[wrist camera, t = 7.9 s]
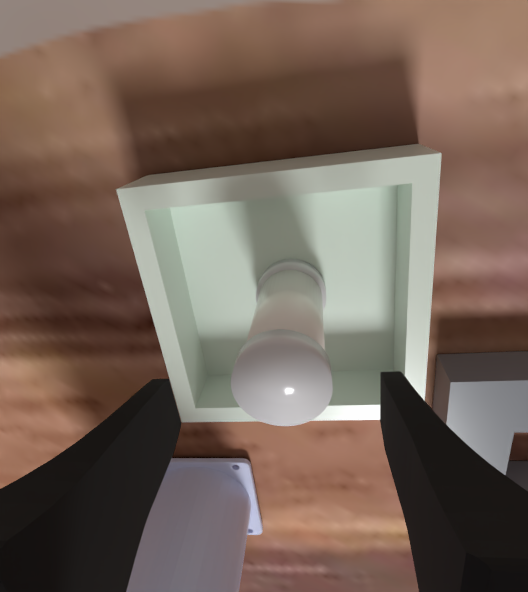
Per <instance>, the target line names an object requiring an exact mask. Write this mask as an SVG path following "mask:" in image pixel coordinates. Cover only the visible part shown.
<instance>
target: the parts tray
mask: <svg viewBox="0 0 528 592" xmlns="http://www.w3.org/2000/svg"><path fill="white" fill-rule="evenodd" d="M441 154H442V153H440V152H438V151H435V150H433V149H431V148H428V147H426V146H423V145H421V144H412V145H404V146H395V147H386V148H378V149H369V150H360V151H352V152H343V153H334V154H326V155H317V156H309V157H300V158H291V159H283V160H274V161H265V162H257V163H248V164H239V165H231V166H222V167H214V168H205V169H196V170H188V171H179V172H170V173H162V174H153V175H147V176H144V177H142V178H140V179H138V180H136V181H133V182H131V183H129V184H127V185H125V186H122V187H120V188H118V189H116V190H117V194H118V197H119V201H120V204H121V208H122V212H123V215H124V219H125V222H126V226H127V229H128V233H129V236H130V240H131V243H132V247H133V251H134V254H135V258H136V261H137V265H138V268H139V272H140V275H141V279H142V283H143V286H144V290H145V293H146V297H147V300H148V304H149V307H150V311H151V314H152V318H153V322H154V325H155V329H156V332H157V336H158V339H159V343H160V346H161V350H162V354H163V357H164V361H165V364H166V368H167V371H168V375H169V378H170V382H171V386H172V389H173V393H174V396H175V400H176V403H177V407H178V410H179V414H180V417H181V421H182V422H242V421H259V420H257V419H255V418H253V417H252V416H250V415H249V414H247V413H246V412H245V411H244V410H243V409H242V408H241V407H240V406H239V405H238V403H237V402H236V400H235V398H234V396H233V393H232V390H231V375H232V372H233V369H234V365H235V362H236V358H237V355H238V353H239V351H240V349H241V348H242V346H243V345H244V344H245V343H246V342H247V338H248V334H249V331H250V327H251V323H252V320H253V316H254V312H255V309H256V305H257V303H256V290H257V287H258V283H259V280H260V277H261V275H262V274H263V272H264V271H265V270H266V268H268V267H269V266H270V265H271V264H273V263H275V262H277V261H280V260H283V259H300V260H303V261H306V262H308V263H310V264H311V265H313V266H314V267H315V268H316V269H317V270H318V271H319V272H320V273H321V275H322V277H323V279H324V281H325V286H326V305H325V308H324V310H323V321H324V341H325V352H326V353H327V355H328V357H329V360H330V363H331V371H332V385H333V391H332V397H331V400H330V402H329V404H328V406H327V407H326V409H325V410H324V411H323V412H322V413H321V414H320V415H319V416H317V417H316V418H314V419H313V420H311V421H315V420H380V372H393V371H400V372H402V373H403V374H404V376H405V377H406V378H407V380H408V381H409V382H410V384H411V385H412V386H413V387H414V389H415V390H416V391H417V392H418V394H419V395H420V396H421V397H422V398H423V400H424V401H425V389H426V375H427V360H428V345H429V331H430V316H431V301H432V286H433V272H434V257H435V242H436V228H437V213H438V198H439V184H440V169H441Z"/></svg>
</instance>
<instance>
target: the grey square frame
mask: <svg viewBox="0 0 528 592" xmlns="http://www.w3.org/2000/svg"><path fill="white" fill-rule="evenodd" d="M433 411H434V412H435V413H436V414H437V415H438V416H439V417H440V419H441V420H442V421H443V422H444V423H445V424H446V425H447V426H448V427H449V428H450V429H451V430H452V431H453V432H454V433H455V434H456V435H457V436H458V437H460V438H461V439H462V440H463V441H464V442H465V443H466V444H467V445H468V446H469V447H470V448H472V449H473V450H474V451H475V452H476V453H477V454H479V455H480V456H481V457H482V458H483V459H485V460H486V461H487V462H488V463H490V464H491V465H492V466H493V467H495V468H496V469H497V470H499V471H500V472H501V473H503V474H504V475H506V476H507V477H508V478H510V479H511V480H513V481H514V482H515V483H517V484H518V485H520V486H521V487H522V488H524V489H525V490H527V491H528V461H509V456H510V451H511V446H512V441H513V436H514V432H528V351H514V352H487V353H461V354H437V360H436V373H435V385H434V398H433Z"/></svg>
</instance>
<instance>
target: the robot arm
mask: <svg viewBox="0 0 528 592" xmlns="http://www.w3.org/2000/svg"><path fill="white" fill-rule="evenodd" d="M380 422H381V428H382V434H383V440H384V446H385V451H386V455H387V458H388V462H389V465H390V469H391V472H392V476H393V479H394V483H395V486H396V490H397V493H398V497H399V500H400V503H401V507H402V510H403V514H404V518H405V522H406V526H407V530H408V534H409V540H410V545H411V550H412V555H413V561H414V566H415V571H416V577H417V582H418V588H419V592H528V491H527V490H525V489H524V488H522V487H521V486H520V485H518V484H517V483H515V482H514V481H513V480H511V479H510V478H508V477H507V476H506V475H504V474H503V473H501V472H500V471H499V470H497V469H496V468H495V467H493V466H492V465H491V464H490V463H488V462H487V461H486V460H485V459H483V458H482V457H481V456H480V455H479V454H477V453H476V452H475V451H474V450H473V449H472V448H470V447H469V446H468V445H467V444H466V443H465V442H464V441H463V440H462V439H461V438H460V437H458V436H457V435H456V434H455V433H454V432H453V431H452V430H451V429H450V428H449V427H448V426H447V425H446V424H445V423H444V422H443V421H442V420H441V419H440V417H439V416H438V415H437V414H436V413H435V412H434V411H433V410H432V409H431V408H430V406H429V405H428V404H427V403H426V402H425V401H424V400H423V398H422V397H421V396H420V395H419V394H418V392H417V391H416V390H415V389H414V387H413V386H412V385H411V384H410V382H409V381H408V380H407V378H406V377H405V376H404V374H403V373H402V372H400V371H393V372H380ZM180 427H181V420H180V417H179V413H178V409H177V406H176V402H175V399H174V395H173V392H172V388H171V384H170V381H169V379H153V380H151V381H150V382H149V383H147V384H146V385H145V386H144V387H143V388H141V389H140V390H139V391H138V392H137V393H136V394H135V395H133V396H132V397H131V398H130V399H129V400H128V401H127V402H125V403H124V404H123V405H122V406H121V407H120V408H119V409H117V410H116V411H115V412H114V413H113V414H112V415H110V416H109V417H108V418H107V419H106V420H104V421H103V422H102V423H101V424H99V425H98V426H97V427H96V428H94V429H93V430H92V431H90V432H89V433H88V434H87V435H85V436H84V437H83V438H82V439H80V440H79V441H78V442H76V443H75V444H73V445H72V446H71V447H69V448H68V449H66V450H65V451H63V452H62V453H60V454H59V455H57V456H56V457H55V458H53V459H51V460H50V461H48V462H47V463H45V464H43V465H42V466H40V467H38V468H37V469H35V470H33V471H32V472H30V473H28V474H27V475H25V476H23V477H22V478H20V479H18V480H16V481H15V482H13V483H11V484H9V485H7V486H5V487H3V488H1V489H0V592H239V587H240V580H241V574H242V567H243V560H244V554H245V547H246V540H247V535H259V534H261V533H262V530H263V525H262V520H261V515H260V510H259V505H258V499H257V494H256V489H255V484H254V479H253V474H252V468H251V463H250V461H249V460H247V459H245V458H172V456H173V453H174V450H175V447H176V443H177V439H178V435H179V431H180Z"/></svg>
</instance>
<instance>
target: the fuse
mask: <svg viewBox="0 0 528 592" xmlns="http://www.w3.org/2000/svg"><path fill="white" fill-rule="evenodd" d="M256 303H257V305H256V309H255V312H254V316H253V320H252V323H251V327H250V331H249V334H248V338H247V342H246V343H245V344H244V345H243V346H242V348H241V349H240V351H239V353H238V355H237V358H236V362H235V365H234V369H233V372H232V375H231V390H232V393H233V396H234V398H235V400H236V402H237V403H238V405H239V406H240V407H241V408H242V409H243V410H244V411H245V412H246V413H247V414H249V415H250V416H252V417H253V418H255V419H257V420H259V421H261V422H264V423H267V424H271V425H276V426H294V425H299V424H303V423H306V422H308V421H311V420H313V419H314V418H316V417H317V416H319V415H320V414H321V413H322V412H323V411H324V410H325V409H326V407H327V406H328V404H329V402H330V400H331V397H332V391H333V385H332V371H331V363H330V360H329V357H328V355H327V353H326V352H325V341H324V321H323V310H324V308H325V305H326V286H325V281H324V279H323V277H322V275H321V273H320V272H319V271H318V270H317V269H316V268H315V267H314V266H313V265H311V264H310V263H308V262H306V261H303V260H300V259H283V260H280V261H277V262H275V263H273V264H271V265H270V266H269V267H268V268H266V270H265V271H264V272H263V274H262V275H261V277H260V280H259V283H258V287H257V290H256Z"/></svg>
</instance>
